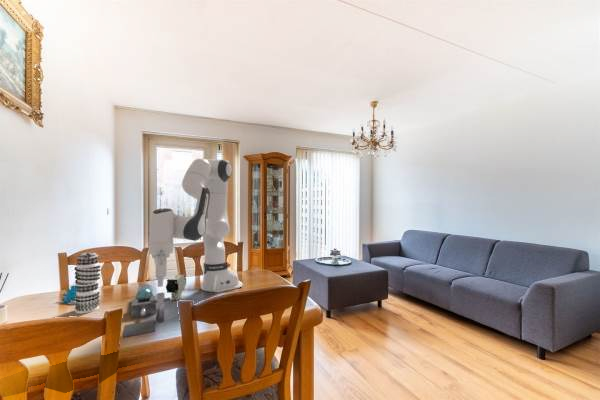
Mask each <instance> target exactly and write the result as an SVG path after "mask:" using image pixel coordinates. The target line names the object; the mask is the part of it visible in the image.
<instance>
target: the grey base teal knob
mask: <svg viewBox="0 0 600 400" xmlns="http://www.w3.org/2000/svg"><path fill="white" fill-rule="evenodd" d="M151 300H156V295H154V290H153V287H152V285H150V284H148V283H144V284H141V285H139V286H138V287H137V289H136V295H135V298H132V300H131V305H130V317H131V319H133V318H139V317H145V316H150V315H151V316H152V315H156V303H154V304H150V303H151Z"/></svg>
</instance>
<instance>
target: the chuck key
mask: <svg viewBox="0 0 600 400" xmlns="http://www.w3.org/2000/svg"><path fill="white" fill-rule="evenodd" d="M155 296H156V300H151V303H150V304H154V303H156V314H155V323H157V324H158V323H162V322H165V303H166V302H171V297H165V292H157V293H156V295H155Z"/></svg>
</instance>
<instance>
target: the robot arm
mask: <svg viewBox="0 0 600 400" xmlns="http://www.w3.org/2000/svg"><path fill="white" fill-rule="evenodd" d="M232 174H233V167H232V164H231V162H230V161H229V160H227V159H217V158H207V159H205V158H196V159H194V160H193V161H192V162H191V163H190V165H189V167H188V168H187V170H186V172H185V174H184V176H183V178H182V181H181V186H182V189H183V191H184V192H185V193H186V194H187V195H188V196H190V197H192V198H194V199H196V203H195V209H194V213H193V215H191V216H181V215H178V214H176V213H174V211H173V209H172V208H167V207H166V208H157V209H155V210H153V211H151V212H152V213H151V216H150V219H149V229H148V231H149V234H150V236H149V240H148V254H149V255H151V258H152V259H154V270H155V273H154V274H155V278H156V280H157V287H158V288H161V287H163V286H164V280H165V279H164V278H166V277H167V268H168V267H167V266H168V263H167V262H168V261H167V259H168V258H170V255H171V254H172V253H174V239H179V240H180V239H181V240H188V241H199V240H200V239H201V238H203V246H204V248H203V249H204V262H203V267H202V272H203V278H202V283H201V287H200V290H202V291H205V292H211V293H222V292H227V291H232V290H234V289H239V288H240V287H241V288H243V282H242V281H240V280H239V277H238V274H237V273H236V272H235V271H233V270H232V269H231V268H230V267H231V266H232V264H231V263H230V262H227V261H226V247H225V243H224V238H226V237H227V236H229V234H230V231H231V226H230V224H229V216H228V207H227V206H228V193H229V192H228V190H229V189H228V188H229V187H228V180H229V179H230V178H231V177H232ZM241 288H240V289H241Z"/></svg>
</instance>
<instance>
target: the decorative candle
mask: <svg viewBox="0 0 600 400" xmlns="http://www.w3.org/2000/svg"><path fill="white" fill-rule="evenodd" d="M99 256H100V255H99V254H97V253H96V252H94V251H89V252H88V251H87V252H82V253H80V254H78V256H77V257H76V258H75V259H76V260H77V261H76V266H75V267H74V269H73V270H74V271H75V272H74V275H75V276H74V278H75V281H74V283H75V285H76V286H77V291H76V296H75V297H76V298H75V299H76V300H75V301H74V302H75V304H74V306H75V307H74V309H75V313H76V314H88V313H92V312H95V311H97V310H99V309H100V306H99V305H100V291H99V283H100V278H101V277H100V276H101V274H100V273H99V272H100V271H101V269H100V268H101V265H100V262H99Z"/></svg>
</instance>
